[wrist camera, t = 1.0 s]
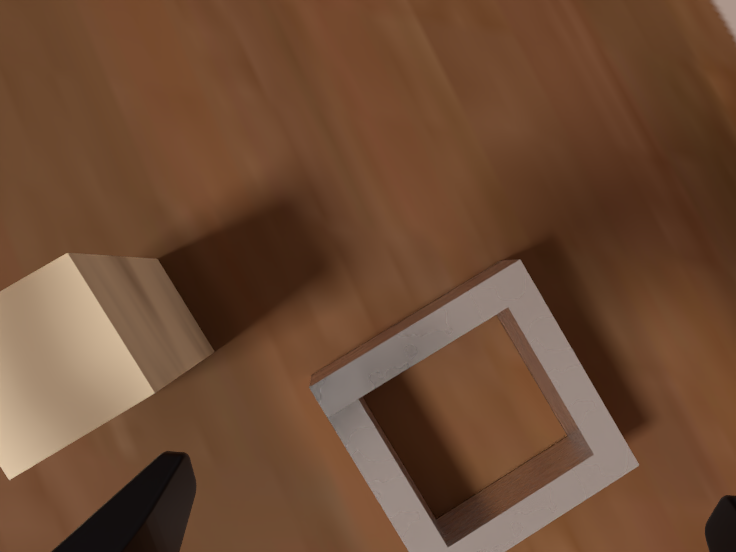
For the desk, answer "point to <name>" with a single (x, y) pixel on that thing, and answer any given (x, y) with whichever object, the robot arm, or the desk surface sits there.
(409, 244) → the desk surface
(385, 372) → the rectangular frame
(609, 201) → the desk surface
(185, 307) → the peg
